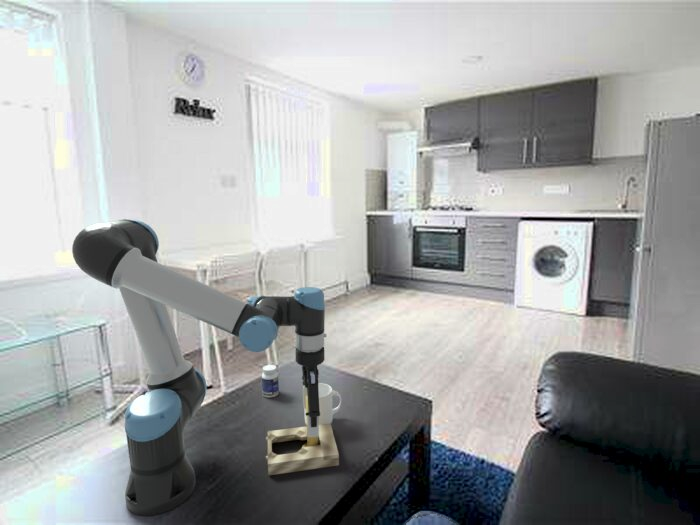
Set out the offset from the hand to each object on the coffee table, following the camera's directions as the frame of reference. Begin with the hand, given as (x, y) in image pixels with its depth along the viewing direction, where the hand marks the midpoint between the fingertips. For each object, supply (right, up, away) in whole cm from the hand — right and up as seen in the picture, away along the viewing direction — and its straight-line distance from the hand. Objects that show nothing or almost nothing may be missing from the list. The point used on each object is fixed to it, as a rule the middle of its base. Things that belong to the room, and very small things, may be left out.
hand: (310, 421), depth 108 cm
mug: (+3, -6, +16) cm, 18 cm away
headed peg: (+1, -9, +2) cm, 9 cm away
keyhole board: (-2, -9, +1) cm, 9 cm away
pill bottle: (-17, -3, +32) cm, 37 cm away
